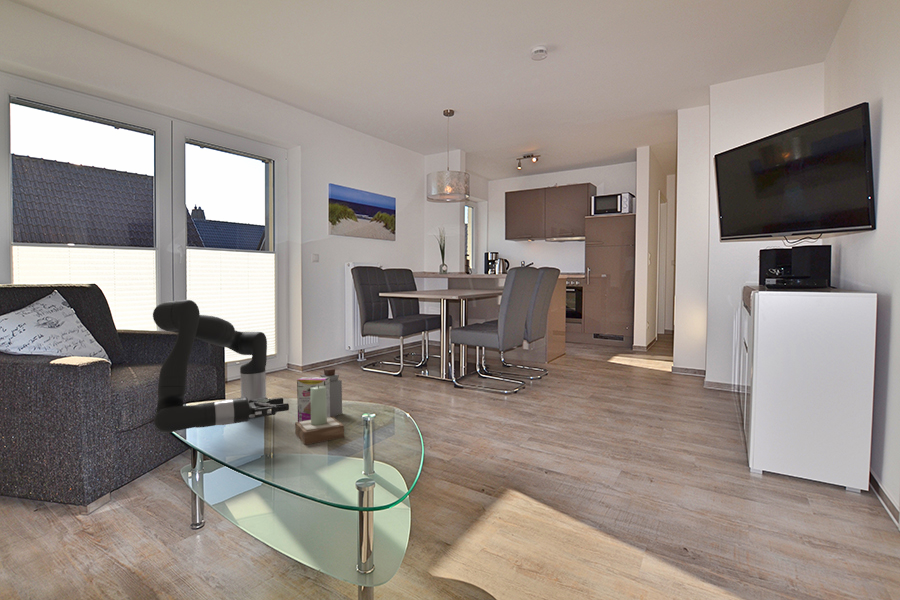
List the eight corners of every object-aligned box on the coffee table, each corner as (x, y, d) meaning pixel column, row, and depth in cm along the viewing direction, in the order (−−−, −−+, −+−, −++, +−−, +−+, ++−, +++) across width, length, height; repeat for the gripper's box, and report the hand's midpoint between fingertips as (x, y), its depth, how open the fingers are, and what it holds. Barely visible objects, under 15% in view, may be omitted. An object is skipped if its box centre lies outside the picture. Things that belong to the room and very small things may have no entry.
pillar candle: (309, 422, 155) (308, 384, 155) (324, 420, 158) (323, 382, 158) (313, 426, 151) (312, 387, 151) (328, 423, 153) (328, 385, 153)
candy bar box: (297, 422, 170) (296, 379, 169) (302, 419, 174) (301, 376, 174) (326, 423, 168) (325, 379, 168) (330, 419, 173) (330, 376, 173)
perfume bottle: (334, 410, 186) (333, 367, 185) (342, 414, 181) (341, 369, 180) (318, 414, 181) (317, 369, 180) (326, 417, 176) (325, 371, 175)
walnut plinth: (295, 433, 157) (295, 421, 157) (332, 427, 163) (332, 415, 163) (304, 444, 146) (304, 431, 145) (344, 437, 152) (343, 424, 152)
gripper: (233, 404, 134) (290, 396, 142) (228, 394, 146) (281, 388, 155) (234, 429, 134) (291, 420, 143) (229, 417, 146) (281, 410, 155)
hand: (285, 403), depth 149 cm, fingers open, 8 cm apart
